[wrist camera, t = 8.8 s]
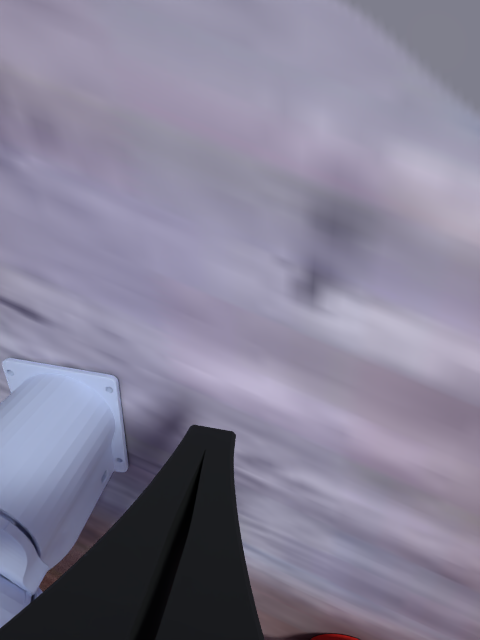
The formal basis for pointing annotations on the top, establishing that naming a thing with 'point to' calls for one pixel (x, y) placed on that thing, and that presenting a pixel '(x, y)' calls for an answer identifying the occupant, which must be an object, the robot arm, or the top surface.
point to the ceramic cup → (333, 637)
